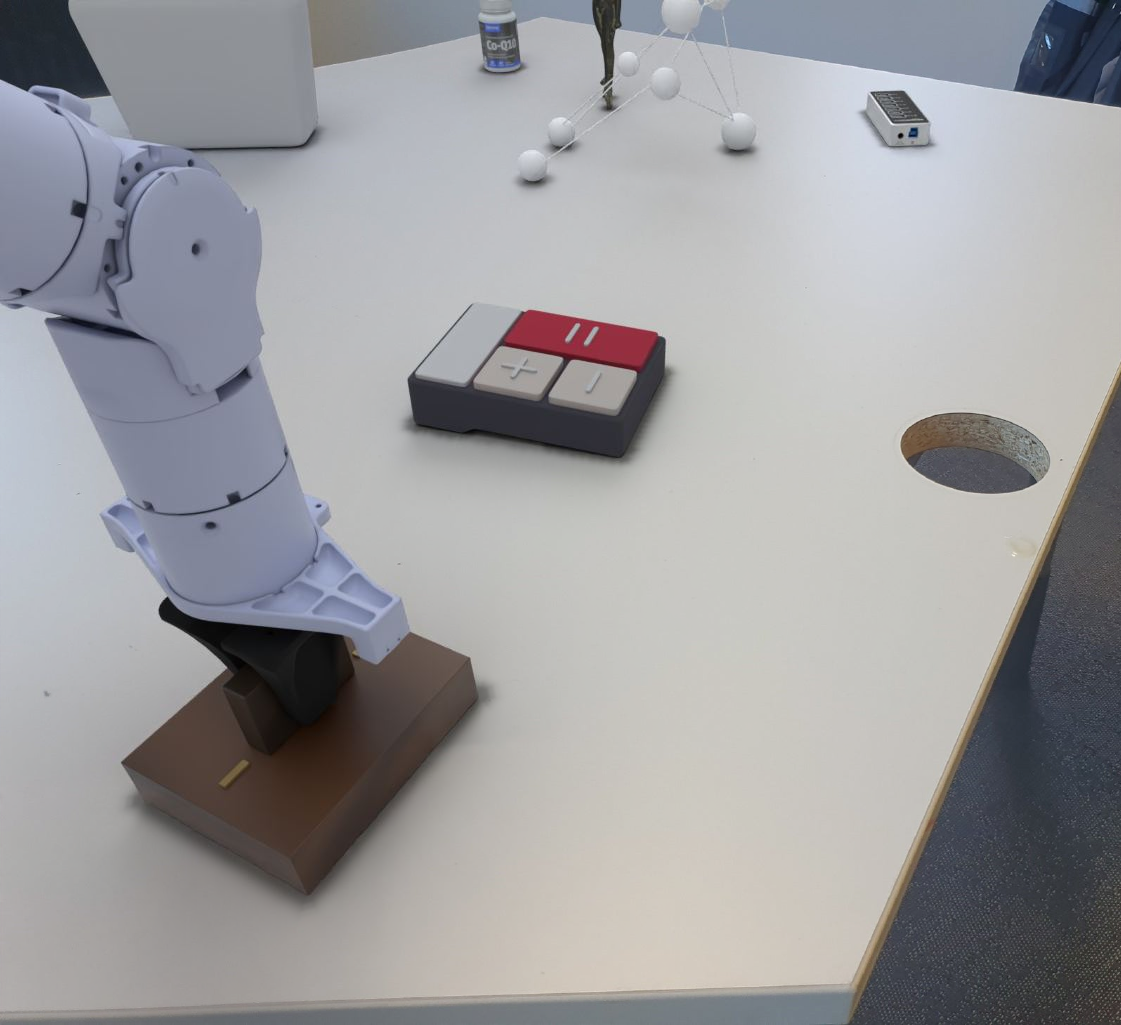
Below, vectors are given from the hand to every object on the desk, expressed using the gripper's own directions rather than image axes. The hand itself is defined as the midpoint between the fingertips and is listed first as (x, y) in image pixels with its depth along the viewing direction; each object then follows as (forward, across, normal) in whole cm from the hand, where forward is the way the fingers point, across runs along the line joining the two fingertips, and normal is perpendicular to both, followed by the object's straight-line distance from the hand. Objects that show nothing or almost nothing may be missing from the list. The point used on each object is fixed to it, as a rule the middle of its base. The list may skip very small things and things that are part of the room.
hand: (301, 700), depth 46 cm
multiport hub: (+4, +2, -93) cm, 93 cm away
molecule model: (+4, +23, -72) cm, 76 cm away
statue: (+4, +35, -85) cm, 92 cm away
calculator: (+4, +7, -30) cm, 31 cm away
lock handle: (0, 0, 0) cm, 0 cm away
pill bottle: (+4, +54, -91) cm, 106 cm away
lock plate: (+3, 0, 0) cm, 3 cm away
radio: (+4, +66, -57) cm, 87 cm away
